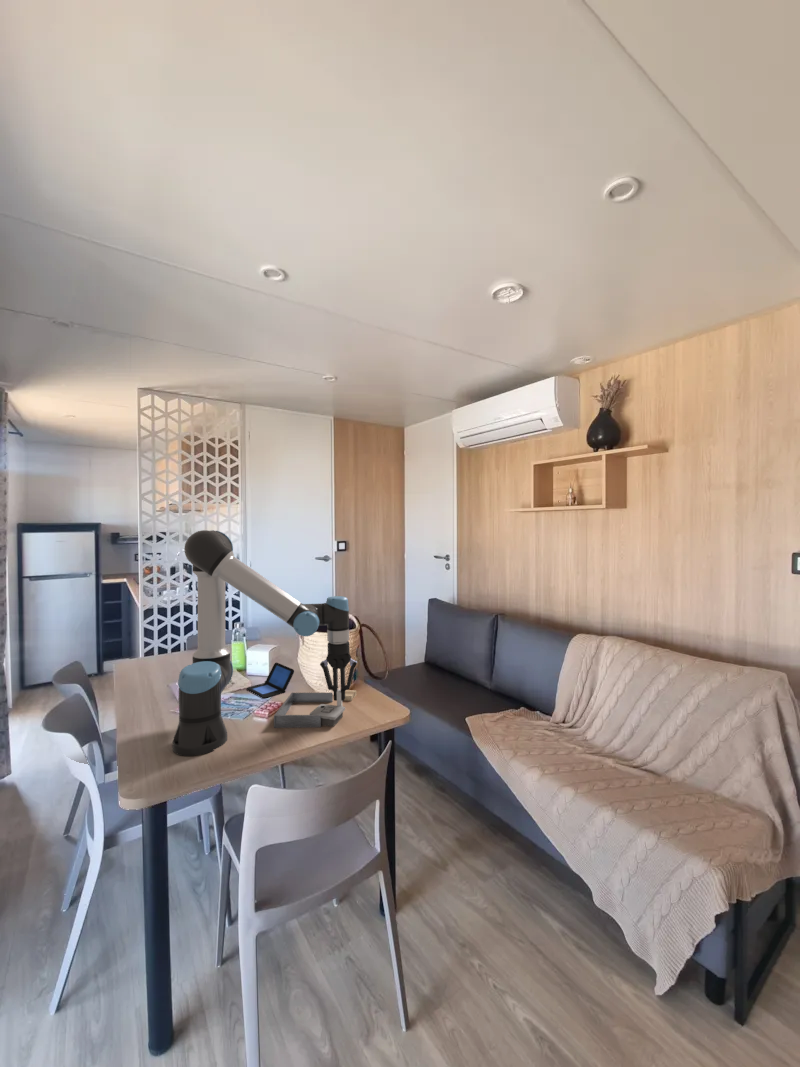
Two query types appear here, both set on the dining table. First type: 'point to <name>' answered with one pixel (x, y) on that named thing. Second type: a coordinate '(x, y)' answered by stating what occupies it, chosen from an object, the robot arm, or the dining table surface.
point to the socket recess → (300, 720)
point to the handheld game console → (274, 682)
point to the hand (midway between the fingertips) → (339, 709)
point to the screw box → (349, 695)
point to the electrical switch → (329, 714)
